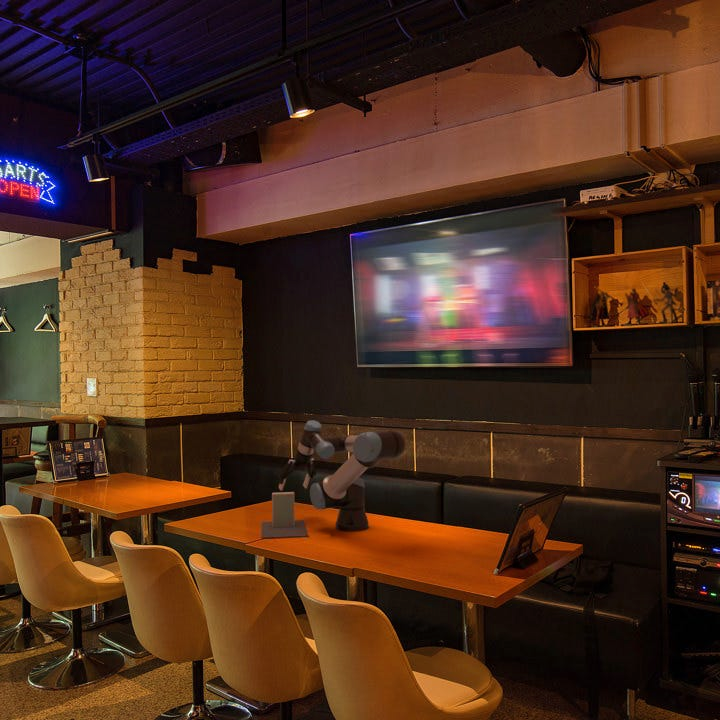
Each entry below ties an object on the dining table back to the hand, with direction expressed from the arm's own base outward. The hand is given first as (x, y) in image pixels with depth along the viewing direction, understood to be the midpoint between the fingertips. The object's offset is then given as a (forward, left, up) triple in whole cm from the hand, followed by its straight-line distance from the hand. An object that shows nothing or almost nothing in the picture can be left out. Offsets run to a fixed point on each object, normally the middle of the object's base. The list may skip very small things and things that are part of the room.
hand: (292, 487), depth 326 cm
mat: (-14, +14, -16) cm, 25 cm away
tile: (-10, +11, -15) cm, 21 cm away
